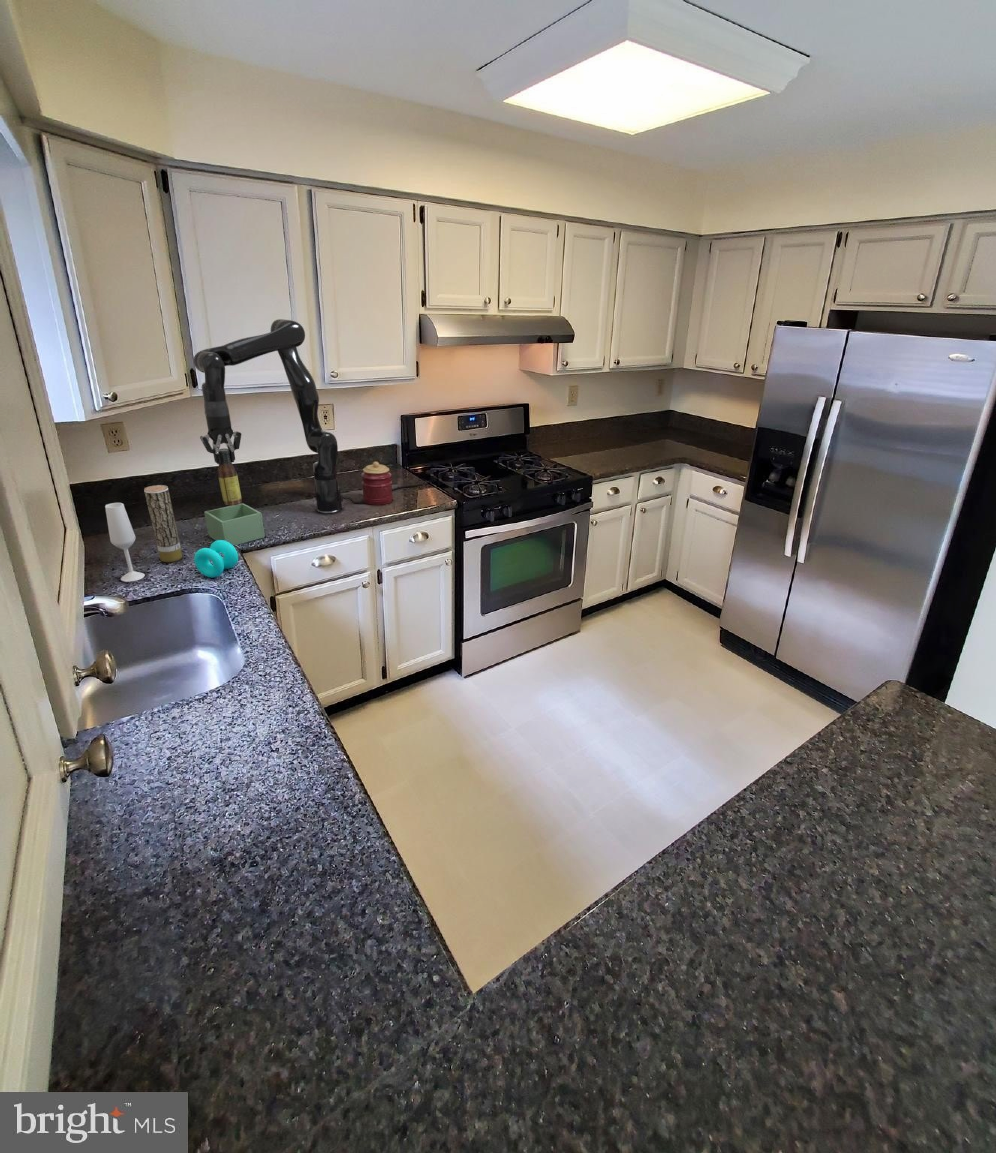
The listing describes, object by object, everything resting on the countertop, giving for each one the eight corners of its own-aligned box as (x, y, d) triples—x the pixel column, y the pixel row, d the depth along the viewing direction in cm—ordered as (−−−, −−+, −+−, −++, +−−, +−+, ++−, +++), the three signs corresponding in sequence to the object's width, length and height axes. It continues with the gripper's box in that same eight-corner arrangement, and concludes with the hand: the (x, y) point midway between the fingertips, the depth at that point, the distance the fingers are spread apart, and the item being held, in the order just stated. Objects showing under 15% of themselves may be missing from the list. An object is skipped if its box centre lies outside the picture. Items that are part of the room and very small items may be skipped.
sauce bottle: (245, 501, 220) (237, 448, 211) (236, 506, 214) (228, 452, 206) (228, 500, 220) (219, 446, 212) (219, 505, 215) (210, 450, 206)
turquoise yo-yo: (195, 576, 192) (189, 548, 187) (216, 564, 200) (211, 536, 196) (222, 581, 189) (216, 552, 185) (242, 568, 198) (237, 540, 194)
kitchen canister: (356, 501, 263) (353, 461, 255) (377, 494, 273) (375, 456, 265) (377, 507, 256) (375, 467, 249) (398, 500, 266) (397, 461, 258)
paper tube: (160, 564, 198) (143, 492, 187) (160, 556, 204) (144, 486, 193) (183, 561, 201) (168, 490, 190) (182, 553, 207) (167, 484, 196)
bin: (246, 526, 231) (243, 503, 227) (264, 537, 223) (261, 513, 218) (208, 535, 222) (204, 511, 218) (226, 547, 213) (221, 522, 209)
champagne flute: (119, 575, 190) (100, 504, 180) (143, 570, 194) (125, 500, 183) (122, 583, 185) (102, 510, 175) (146, 578, 189) (128, 506, 179)
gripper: (200, 417, 196) (209, 468, 204) (242, 413, 206) (250, 461, 213) (191, 414, 201) (200, 464, 208) (232, 409, 210) (240, 457, 218)
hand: (225, 462), depth 211 cm, fingers closed on sauce bottle, 4 cm apart
